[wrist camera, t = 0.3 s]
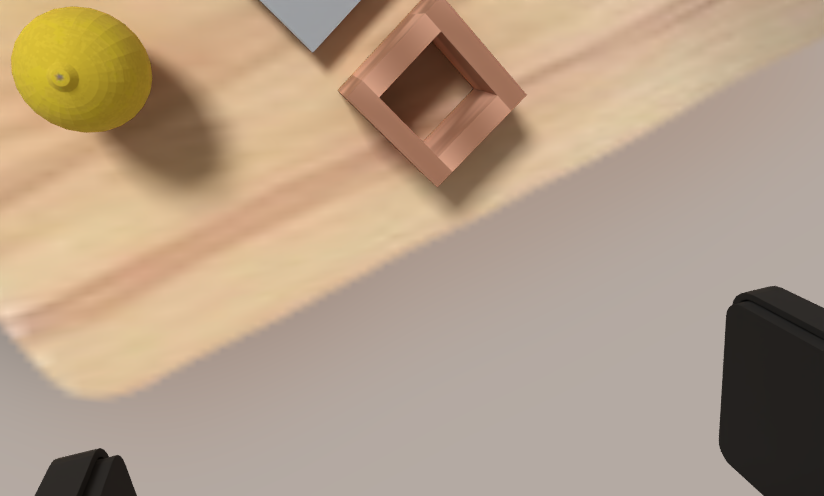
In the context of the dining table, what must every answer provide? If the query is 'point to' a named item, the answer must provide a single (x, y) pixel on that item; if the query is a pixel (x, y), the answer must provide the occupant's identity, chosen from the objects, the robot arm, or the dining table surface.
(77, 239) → the dining table surface
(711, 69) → the dining table surface
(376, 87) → the wooden loop
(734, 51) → the dining table surface
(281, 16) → the hook board
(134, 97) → the lemon
